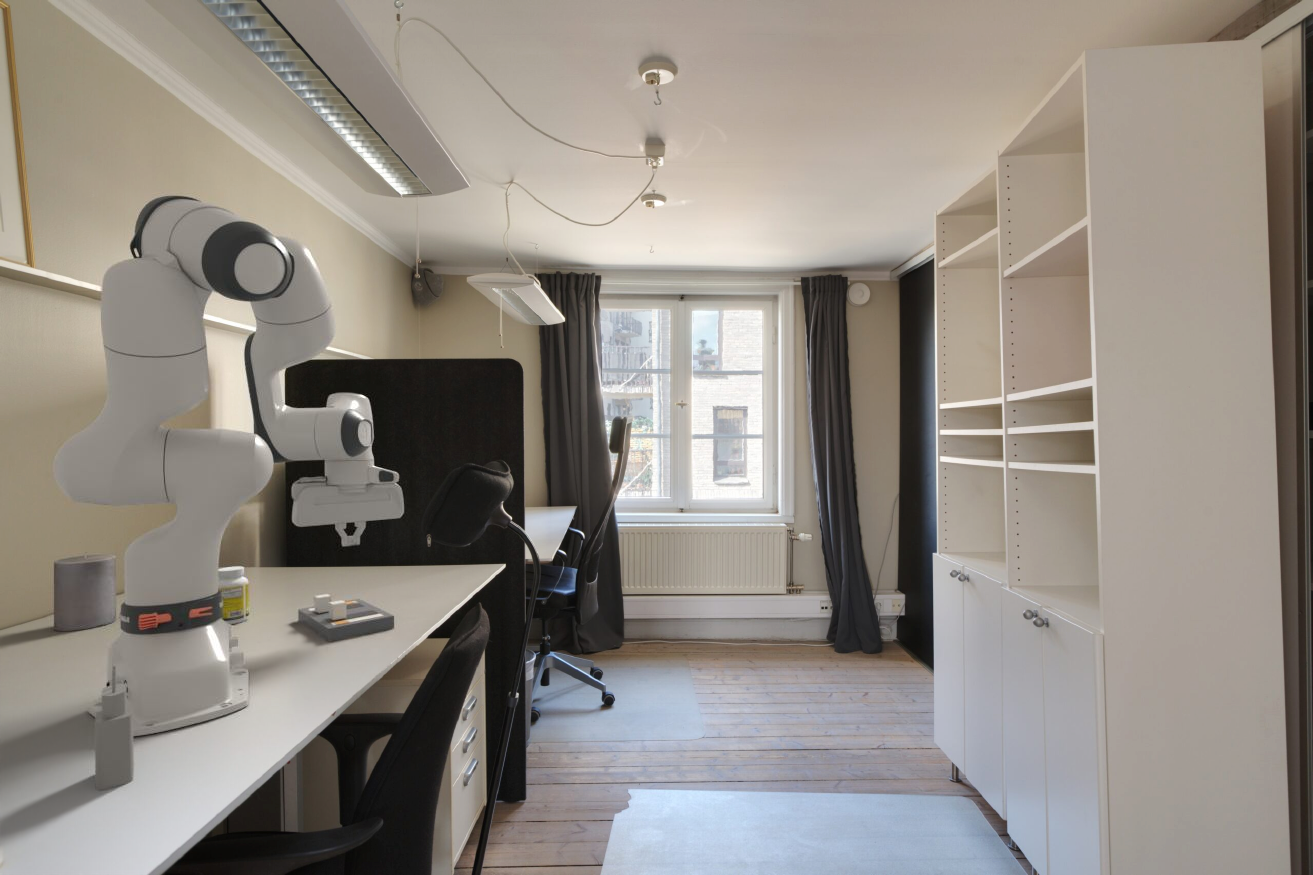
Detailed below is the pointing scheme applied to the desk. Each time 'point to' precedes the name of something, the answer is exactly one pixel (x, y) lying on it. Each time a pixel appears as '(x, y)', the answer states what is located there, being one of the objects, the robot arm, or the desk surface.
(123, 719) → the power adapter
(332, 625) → the switch housing
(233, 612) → the pill bottle
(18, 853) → the desk surface
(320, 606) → the rear slider
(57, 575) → the pillar candle
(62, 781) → the desk surface
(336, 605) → the front slider
